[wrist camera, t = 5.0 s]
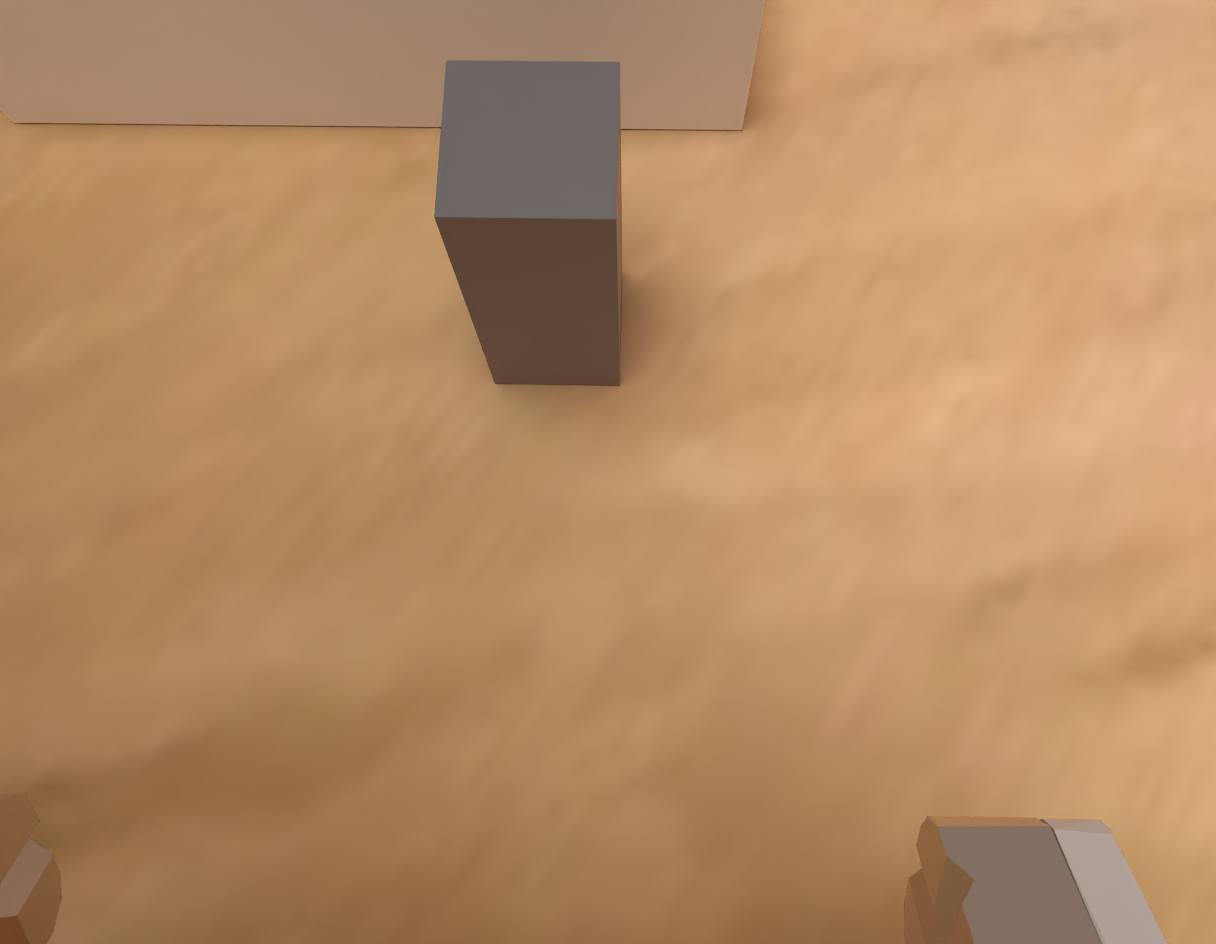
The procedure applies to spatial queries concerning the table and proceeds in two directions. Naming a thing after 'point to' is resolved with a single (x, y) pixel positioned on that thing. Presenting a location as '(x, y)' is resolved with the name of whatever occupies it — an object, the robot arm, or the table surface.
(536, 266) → the plug
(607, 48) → the white socket block
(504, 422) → the table surface
